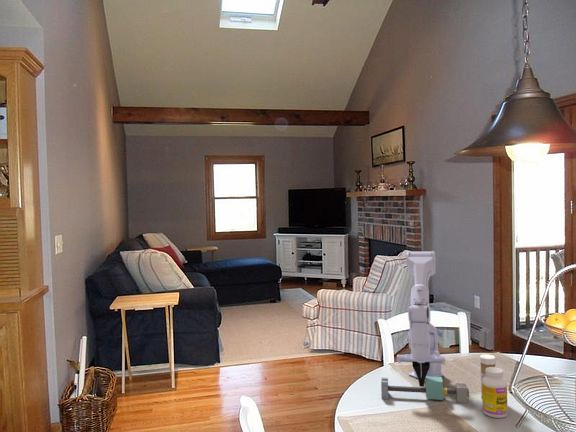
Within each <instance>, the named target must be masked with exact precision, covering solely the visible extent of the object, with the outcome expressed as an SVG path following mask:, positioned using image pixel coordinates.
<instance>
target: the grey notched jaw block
mask: <svg viewBox="0 0 576 432" xmlns="http://www.w3.org/2000/svg"><path fill="white" fill-rule="evenodd" d="M380 383H381V384H380V387H381V390H380V391H381V399H382V400H388V399H389V393H390V391H388V386H389V377H381V381H380Z"/></svg>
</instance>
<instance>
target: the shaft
mask: <svg viewBox="0 0 576 432" xmlns="http://www.w3.org/2000/svg"><path fill="white" fill-rule="evenodd" d="M388 392H400V393H401V392H405V393H422V394H426V386H424V387H422V386H403V385H402V386H399V385H388ZM456 394H457V390H456V388H447V387H443V395H456Z"/></svg>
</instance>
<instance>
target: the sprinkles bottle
mask: <svg viewBox="0 0 576 432" xmlns="http://www.w3.org/2000/svg"><path fill="white" fill-rule="evenodd" d="M479 362H480V390H481V392H482V379H483V377H485V376H486V373H485V369H486V368H487V367H496V364H497V357H496V356H495V355H492V354H487V353H486V354H481V355H480V356H479ZM481 399H482V395H481Z"/></svg>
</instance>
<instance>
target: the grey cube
mask: <svg viewBox="0 0 576 432" xmlns="http://www.w3.org/2000/svg"><path fill="white" fill-rule="evenodd" d="M455 389H456V390H457V394H455V398H456V402H457V403H463V404H464V403H466V404H468V403H469V400H468V398H469V397H470V390H469V387H468V386H467V384H466V383H460V382H456V383H455Z"/></svg>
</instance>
